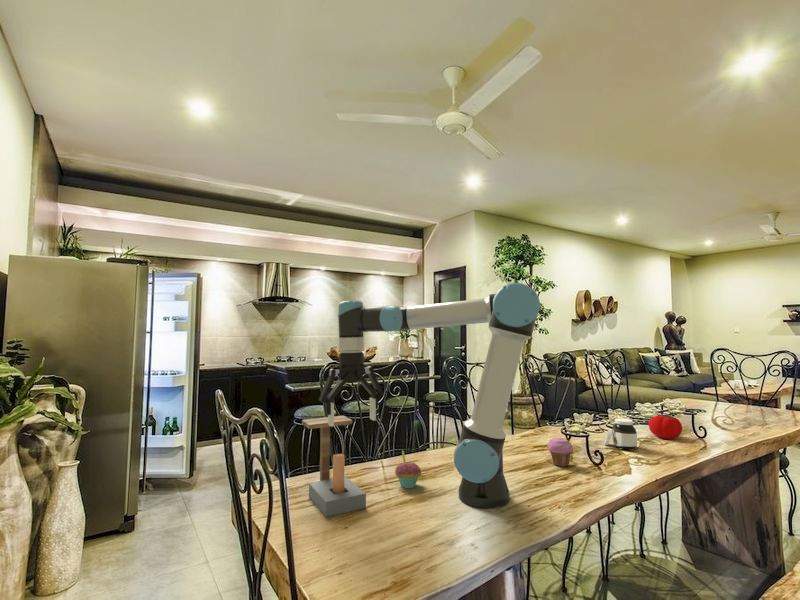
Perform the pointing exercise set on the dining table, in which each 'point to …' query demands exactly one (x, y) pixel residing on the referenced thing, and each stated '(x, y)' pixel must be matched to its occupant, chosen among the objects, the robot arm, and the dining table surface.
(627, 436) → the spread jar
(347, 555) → the dining table surface
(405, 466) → the cupcake
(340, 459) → the peg
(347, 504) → the socket block
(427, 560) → the dining table surface
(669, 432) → the tomato
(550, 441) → the cupcake
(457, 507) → the dining table surface
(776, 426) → the dining table surface
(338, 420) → the wooden t-shaped stand
